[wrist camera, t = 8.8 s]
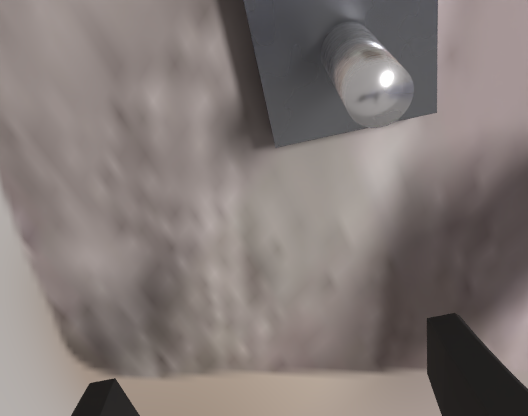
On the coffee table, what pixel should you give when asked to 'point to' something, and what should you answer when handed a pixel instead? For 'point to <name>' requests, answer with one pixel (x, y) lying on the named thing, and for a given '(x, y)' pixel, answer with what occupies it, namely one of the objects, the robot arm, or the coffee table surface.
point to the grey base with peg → (343, 63)
